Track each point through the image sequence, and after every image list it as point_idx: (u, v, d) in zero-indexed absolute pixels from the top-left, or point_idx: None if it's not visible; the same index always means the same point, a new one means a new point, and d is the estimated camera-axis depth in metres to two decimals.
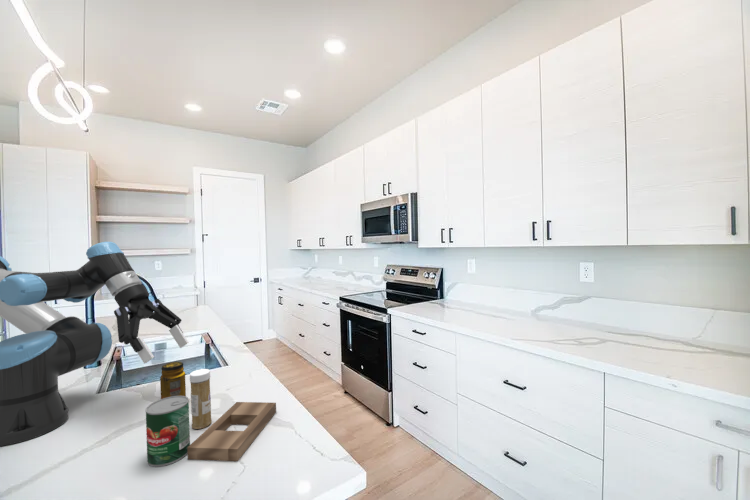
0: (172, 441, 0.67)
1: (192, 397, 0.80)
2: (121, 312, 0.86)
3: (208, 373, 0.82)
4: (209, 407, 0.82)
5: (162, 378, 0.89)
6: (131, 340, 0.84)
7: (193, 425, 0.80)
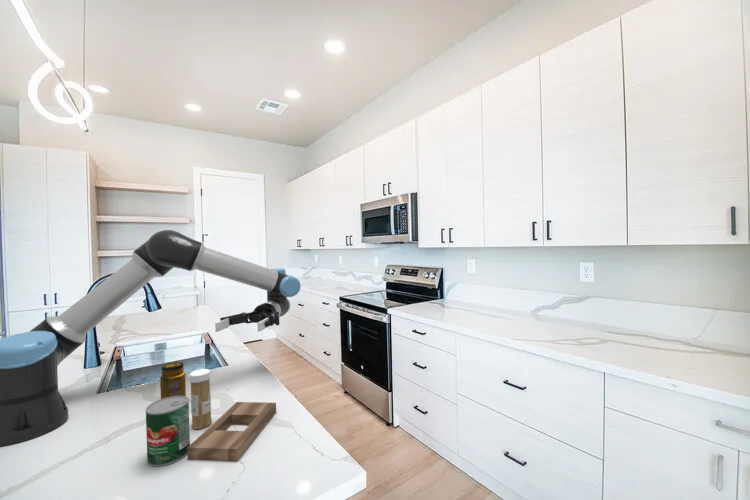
0: (172, 441, 0.67)
1: (192, 397, 0.80)
2: None
3: (208, 373, 0.82)
4: (209, 407, 0.82)
5: (162, 378, 0.89)
6: (272, 322, 1.06)
7: (193, 425, 0.80)
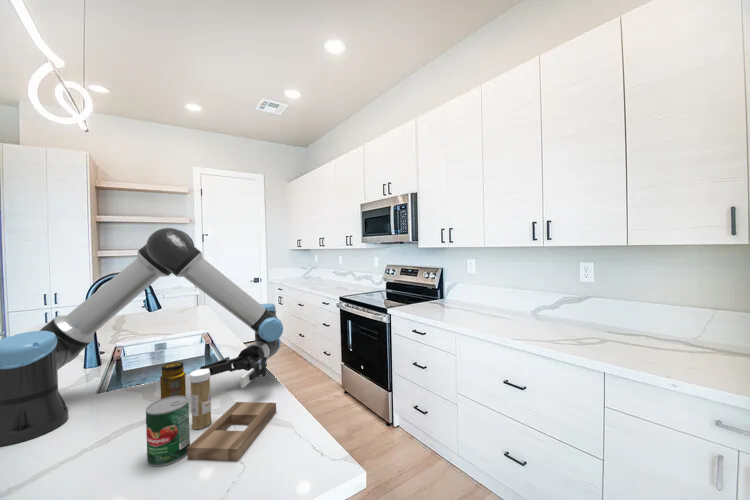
0: (172, 441, 0.67)
1: (192, 397, 0.80)
2: (265, 365, 1.03)
3: (208, 373, 0.82)
4: (209, 407, 0.82)
5: (162, 378, 0.89)
6: (258, 374, 0.94)
7: (193, 425, 0.80)
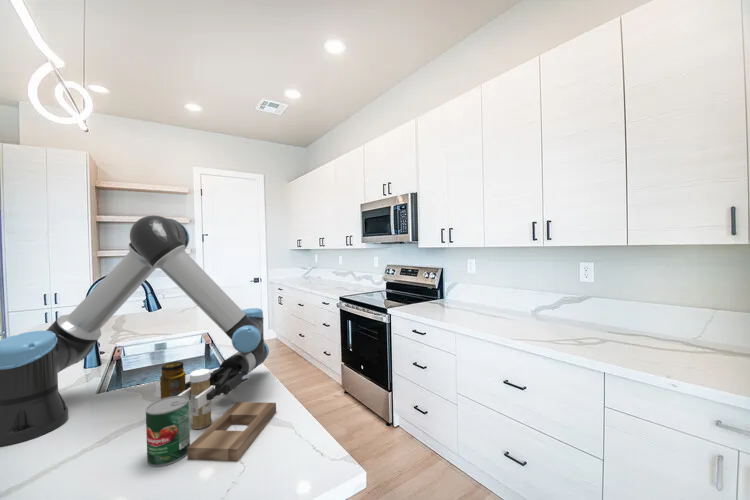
0: (172, 441, 0.67)
1: (192, 397, 0.80)
2: (243, 380, 0.91)
3: (208, 373, 0.82)
4: (209, 407, 0.82)
5: (162, 378, 0.89)
6: (219, 392, 0.83)
7: (193, 425, 0.80)
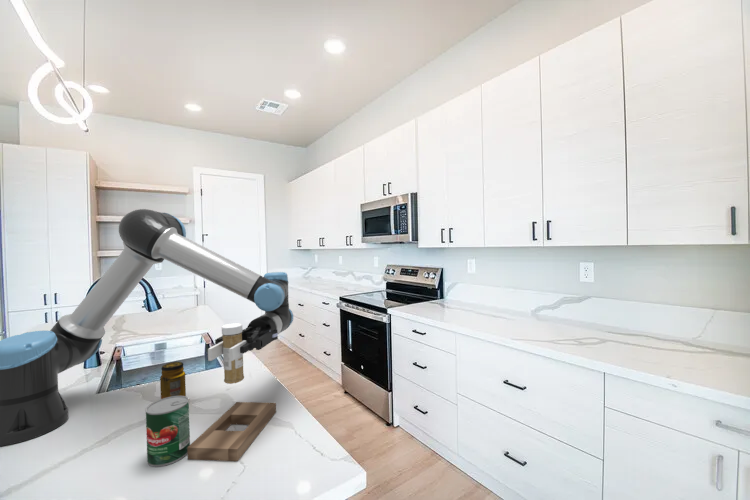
0: (172, 441, 0.67)
1: (225, 350, 0.76)
2: (273, 338, 0.87)
3: (241, 326, 0.78)
4: (242, 361, 0.78)
5: (162, 378, 0.89)
6: (252, 347, 0.79)
7: (226, 380, 0.77)
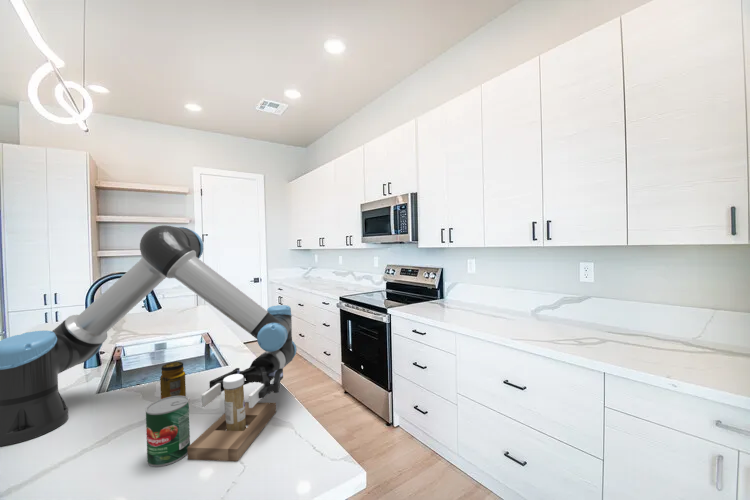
0: (172, 441, 0.67)
1: (226, 404, 0.76)
2: (281, 378, 0.88)
3: (242, 378, 0.77)
4: (244, 414, 0.78)
5: (162, 378, 0.89)
6: (269, 390, 0.80)
7: None
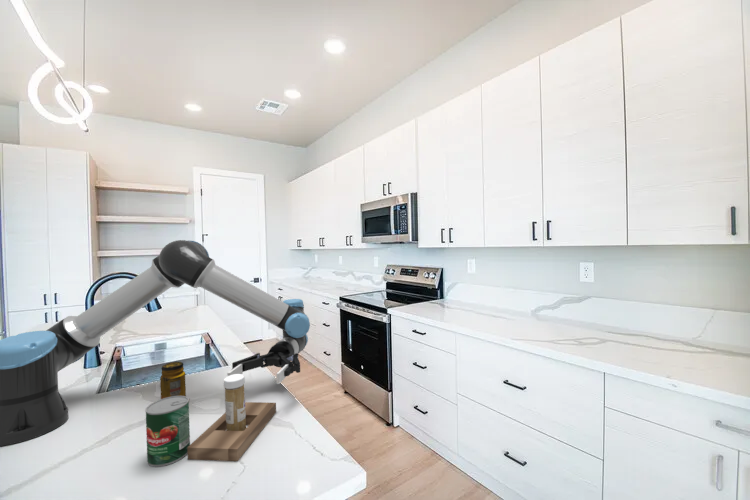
0: (172, 441, 0.67)
1: (227, 404, 0.76)
2: None
3: (243, 379, 0.77)
4: (244, 414, 0.78)
5: (162, 378, 0.89)
6: (293, 370, 0.92)
7: None
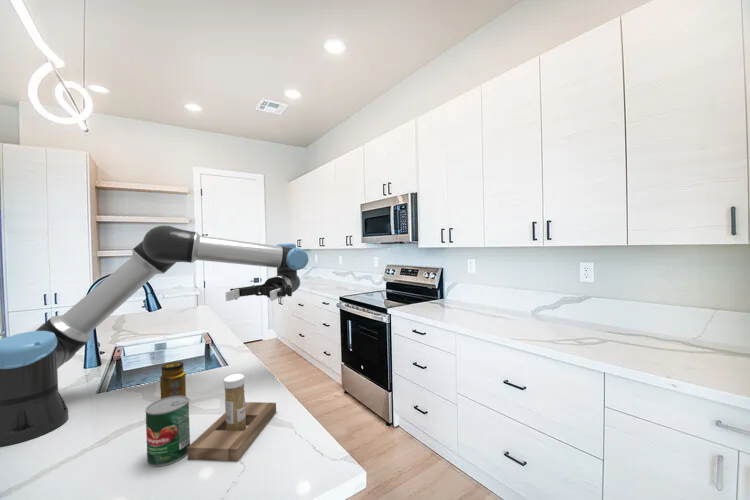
0: (172, 441, 0.67)
1: (227, 404, 0.76)
2: None
3: (243, 378, 0.78)
4: (244, 414, 0.78)
5: (162, 378, 0.89)
6: (285, 293, 1.01)
7: None
